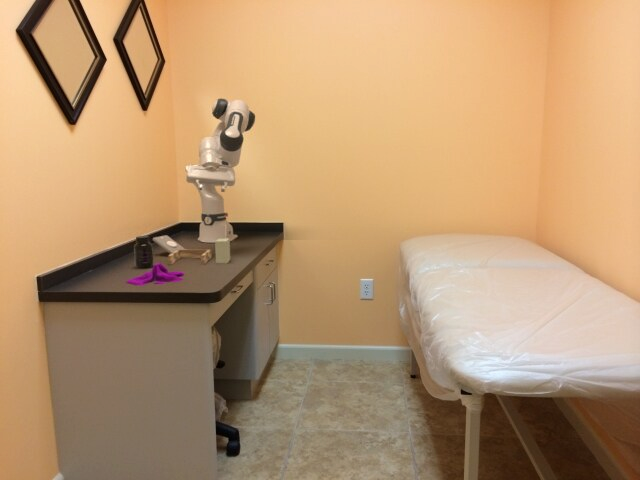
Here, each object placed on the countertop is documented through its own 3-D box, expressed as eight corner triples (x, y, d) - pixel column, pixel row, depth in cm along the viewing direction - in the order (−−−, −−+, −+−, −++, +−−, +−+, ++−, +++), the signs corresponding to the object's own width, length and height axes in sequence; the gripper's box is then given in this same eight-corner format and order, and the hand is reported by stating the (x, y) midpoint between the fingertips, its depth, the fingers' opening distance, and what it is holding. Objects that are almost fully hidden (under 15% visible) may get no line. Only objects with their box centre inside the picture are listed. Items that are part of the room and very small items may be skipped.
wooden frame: (177, 257, 213) (177, 249, 212) (211, 257, 213) (211, 249, 212) (168, 264, 199) (167, 256, 198) (204, 264, 199) (203, 255, 198)
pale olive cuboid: (219, 259, 208) (218, 238, 206) (230, 259, 208) (229, 238, 206) (216, 263, 201) (215, 241, 199) (227, 263, 201) (226, 241, 199)
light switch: (176, 253, 213) (153, 236, 217) (172, 265, 215) (149, 247, 219) (190, 250, 220) (167, 233, 225) (186, 261, 222) (163, 244, 227)
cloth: (119, 287, 167) (118, 269, 166) (139, 274, 185) (138, 258, 184) (186, 286, 167) (185, 269, 166) (199, 273, 185) (198, 257, 184)
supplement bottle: (134, 265, 198) (132, 235, 196) (152, 264, 200) (151, 234, 198) (135, 269, 191) (133, 238, 189) (154, 267, 194) (152, 237, 192)
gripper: (186, 158, 209) (186, 182, 201) (234, 163, 216) (237, 186, 208) (184, 169, 214) (185, 193, 206) (232, 173, 221) (234, 197, 213)
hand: (211, 190), depth 207 cm, fingers open, 8 cm apart
